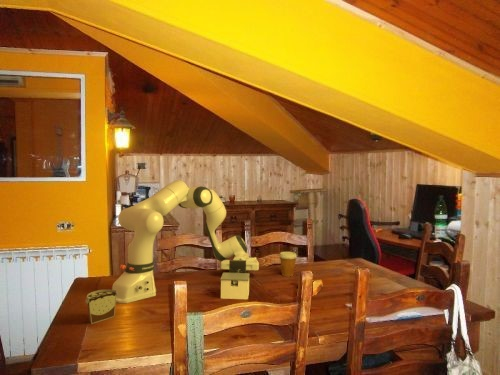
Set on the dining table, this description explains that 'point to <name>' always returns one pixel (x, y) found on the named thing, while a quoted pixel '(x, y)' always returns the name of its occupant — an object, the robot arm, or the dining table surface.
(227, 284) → the block
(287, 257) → the disposable coffee cup
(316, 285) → the slice of bread
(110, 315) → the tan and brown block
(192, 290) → the dining table surface
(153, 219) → the robot arm
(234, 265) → the plunger
